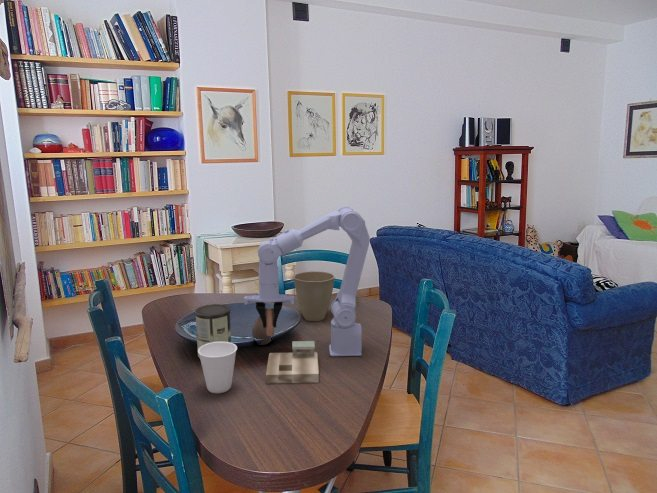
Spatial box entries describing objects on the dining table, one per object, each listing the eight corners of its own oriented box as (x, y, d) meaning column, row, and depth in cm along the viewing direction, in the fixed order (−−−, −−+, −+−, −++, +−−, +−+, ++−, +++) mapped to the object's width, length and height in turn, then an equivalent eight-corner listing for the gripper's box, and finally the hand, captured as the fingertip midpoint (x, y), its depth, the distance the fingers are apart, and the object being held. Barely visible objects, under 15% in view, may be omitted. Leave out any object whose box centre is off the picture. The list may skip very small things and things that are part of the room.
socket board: (317, 360, 145) (317, 352, 145) (318, 382, 131) (318, 373, 131) (269, 360, 144) (269, 352, 144) (266, 383, 131) (265, 374, 130)
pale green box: (314, 360, 145) (314, 341, 144) (314, 366, 141) (314, 346, 140) (292, 360, 145) (292, 341, 144) (292, 366, 141) (292, 346, 140)
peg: (274, 332, 148) (273, 307, 147) (273, 335, 146) (273, 310, 144) (266, 332, 148) (265, 307, 146) (265, 335, 146) (265, 310, 144)
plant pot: (342, 315, 183) (342, 274, 179) (320, 328, 170) (320, 284, 167) (309, 308, 190) (308, 268, 187) (285, 320, 178) (285, 277, 175)
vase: (269, 347, 154) (269, 321, 152) (249, 345, 155) (248, 319, 154) (276, 339, 161) (276, 313, 159) (256, 337, 162) (255, 312, 160)
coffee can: (211, 344, 156) (209, 302, 153) (238, 350, 152) (237, 306, 149) (189, 356, 147) (187, 312, 144) (217, 363, 143) (215, 317, 140)
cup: (219, 401, 121) (217, 360, 119) (191, 391, 127) (189, 351, 124) (246, 385, 130) (245, 346, 127) (219, 376, 135) (217, 338, 133)
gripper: (293, 278, 148) (294, 321, 151) (245, 279, 147) (246, 322, 150) (293, 285, 141) (294, 329, 144) (242, 285, 140) (244, 330, 143)
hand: (269, 326), depth 146 cm, fingers closed on peg, 2 cm apart
